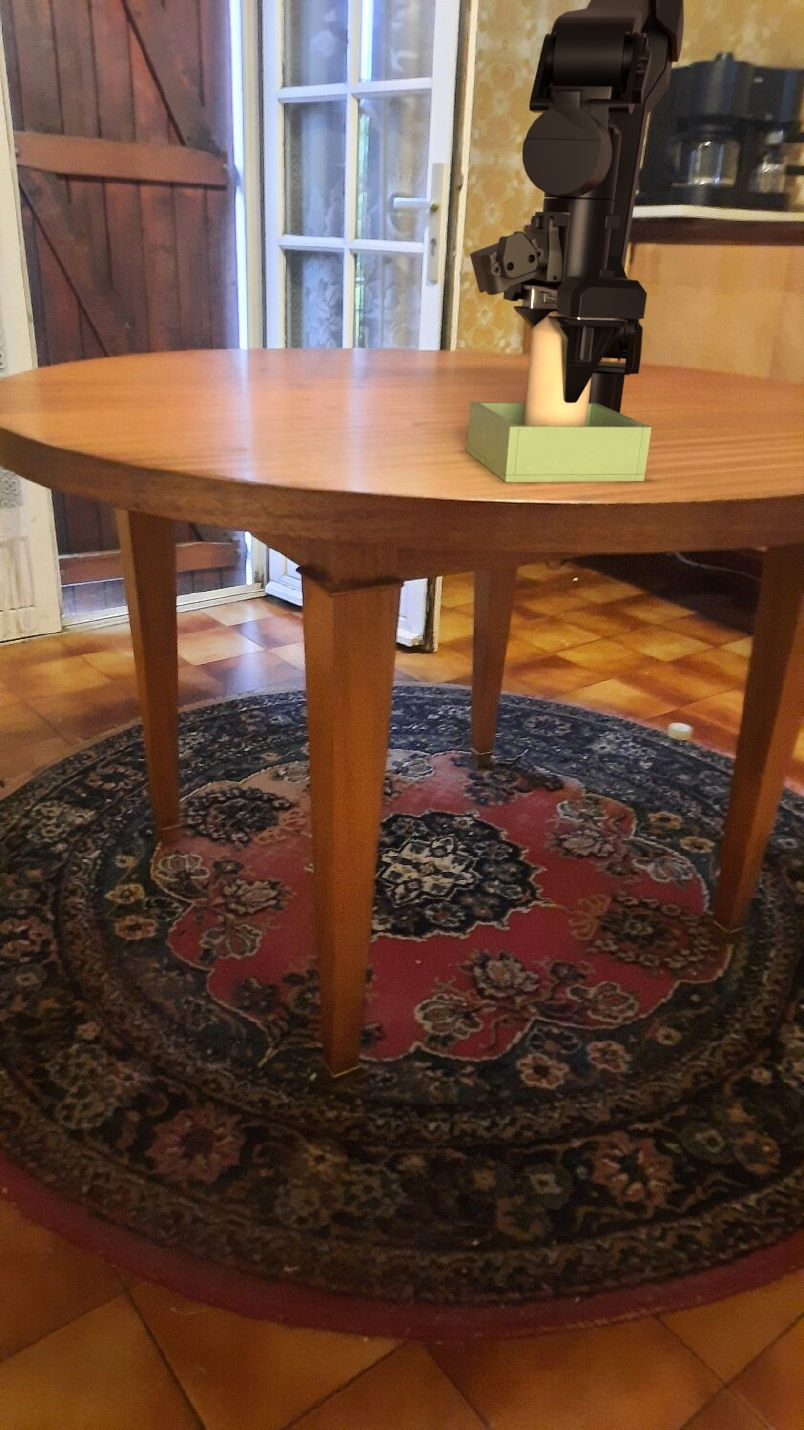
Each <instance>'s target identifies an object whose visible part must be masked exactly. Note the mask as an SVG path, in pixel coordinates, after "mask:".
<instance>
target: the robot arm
mask: <svg viewBox="0 0 804 1430" xmlns="http://www.w3.org/2000/svg"><path fill="white" fill-rule="evenodd" d="M684 3H685V1H684V0H589V3H587V6H586V7H585V8H581V9H575V10H568V11H565V12H564V13H562V14H560V15H559V16H558V17H557V18H556V19H555V20H554V21H553V24H552V27H551V31H550V33H546V34H545V35H544V37H543V41H542V45H541V51H540V55H539V59H538V63H537V68H536V71H535V77H534V81H533V85H532V89H531V94H530V98H529V106H528V107H529V111H530V112H531V113H534V114H539V116H538V117H537V118H535V120H534V121H533V122H532V124H531V126H530V127H529V128H528V130H527V133H526V135H525V138H524V140H523V142H522V149H521V153H522V156H521V157H522V164H523V167H524V172H525V173H526V176H527V178H528V179H529V180H530V182H531V183H532V184H533V185H534V186H535V187H536V188H537V189H539V190H540V191H542V192H543V193H544V195H543V205H542V211H534V215H531V219H530V229H529V231H528V232H523V231H521V230H520V231H519V230H515V231H513V234H509V235H507V236H505V235H502V236H499V239H498V242H496V243H494V244H493V243H492V244H491V245H488V246H484V247H483V248H480V249H478V250H475V251H472V252H471V253H469V256H470V260H471V264H472V269H473V272H474V276H475V280H476V285H477V288H478V292H479V293H481V294H482V293H484V292H486V294H487V295H489V296H494V295H495V296H496V295H499V294H501V293H503V297H502V298H503V300H506V301H508V302H509V301H510V302H519V300H522V303H521V304H522V305H514V306H513V310H514V311H515V312H516V313H517V314H518V315H519V316H520V317H521V318H522V319H523V320H524V321H525V322H526V324H527V325H528V326H529V327H530V330H531V331H532V329H533V328H534V327H535V326H536V325H537V324H538V323H539V322H540V321H541V320H543V319H544V318H545V317H546V316H547V315H548V314H549V313H550V312H554V311H556V312H558V314H561V315H565V316H548V319H549V321H550V322H551V323H552V325H553V326H554V327H555V329H556V330H557V331H558V333H559V334H560V336H561V338H562V376H563V397H564V401H565V402H566V403H576V402H577V401H578V399H579V398H580V396H581V394H582V392H583V391H584V389H585V387H586V385H587V384H588V382H589V380H590V378H591V384H590V393H589V402H588V403H598V404H600V405H602V406H604V407H607V408H609V409H611V410H614V411H616V412H618V413H620V414H621V409H622V402H623V401H622V400H623V393H624V387H625V385H624V384H625V376H630V375H639V374H640V366H641V359H642V352H643V351H642V350H643V348H642V347H643V334H644V327H643V326H642V324H641V323H640V320H644V319H645V312H646V306H647V305H646V304H647V299H648V293H647V291H646V290H645V288H644V287H643V286H642V284H641V283H640V281H639V280H637V279H632V278H631V279H630V278H628V276H627V274H626V271H625V269H626V268H625V267H626V262H627V261H626V260H627V255H628V249H629V241H630V235H631V229H632V222H633V215H634V208H635V202H636V197H637V196H636V195H637V189H638V182H639V181H638V180H639V177H640V168H641V164H642V163H641V162H642V155H643V149H644V144H645V143H644V142H645V137H646V131H647V130H646V129H647V122H648V117H649V115H650V113H651V111H652V110H653V108H654V107H655V106H656V105H657V103H658V102H659V101H660V99H661V98H662V96H664V94H665V93H666V91H667V90H668V88H669V84H670V79H671V75H672V74H671V73H672V68H673V63H678V62H679V61H680V56H681V52H682V45H683V37H684V29H685V28H684V27H685V25H684V24H685V8H684V7H685V6H684ZM603 359H615V360H621V359H622V360H625V362H617V361H604V360H603Z"/></svg>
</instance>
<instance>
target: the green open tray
mask: <svg viewBox="0 0 804 1430" xmlns="http://www.w3.org/2000/svg"><path fill="white" fill-rule="evenodd" d="M525 403H526V401H522V402H521V401H520V402H519V401H469V413H468V425H467V427H468V428H467V442H466V452H467V453H468V455H471V456H472V457H473V458H474V459H476V460H477V461H478V462H479V463H480V464H481V465H483V466H484V467H486V468H487V469H488V470H489V471H491V472H492V473H493V474H494V475H496V476H497V477H498V478H500V479H501V480H502V481H503V482H504V483H574V482H575V483H578V482H579V483H580V482H581V483H587V482H588V483H589V482H592V483H593V482H595V483H596V482H599V483H600V482H601V483H602V482H603V483H604V482H644V481H645V478H646V470H647V463H648V456H649V449H650V442H651V435H652V430H653V429H652V426H650V425H648V424H645V423H643V422H640V421H638V420H636V419H633V418H632V417H629V416H627V415H625V414H623V413H621V412H620V413H618V412H616V411H614V410H611V409H609V408H607V407H604V406H602V405H600V404H598V403H588V410H587V419H586V425H524V414H525Z"/></svg>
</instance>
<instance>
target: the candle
mask: <svg viewBox="0 0 804 1430" xmlns="http://www.w3.org/2000/svg"><path fill="white" fill-rule="evenodd" d="M548 316H565V315H561V314H558V312H556V311H554V312H550V313H549V314H548V315H547V316H546V317H545V318H544V319H543V320H541V321H540V322H539V323H538V324H537V325H536V326H535V327H534V328H533V329H532V330H531V335H530V337H531V338H530V348H529V358H528V371H527V382H526V392H525V402H526V403H525V414H524V425H586V419H587V410H588V402H589V393H590V384H591V378H590V380H589V382H588V384H587V385H586V387H585V389H584V391H583V392H582V394H581V396H580V398H579V399H578V401H577V402H576V403H566V402H565V401H564V397H563V376H562V338H561V336H560V334H559V333H558V331H557V330H556V329H555V327H554V326H553V325H552V323H551V322H550V321H549V319H548Z"/></svg>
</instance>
